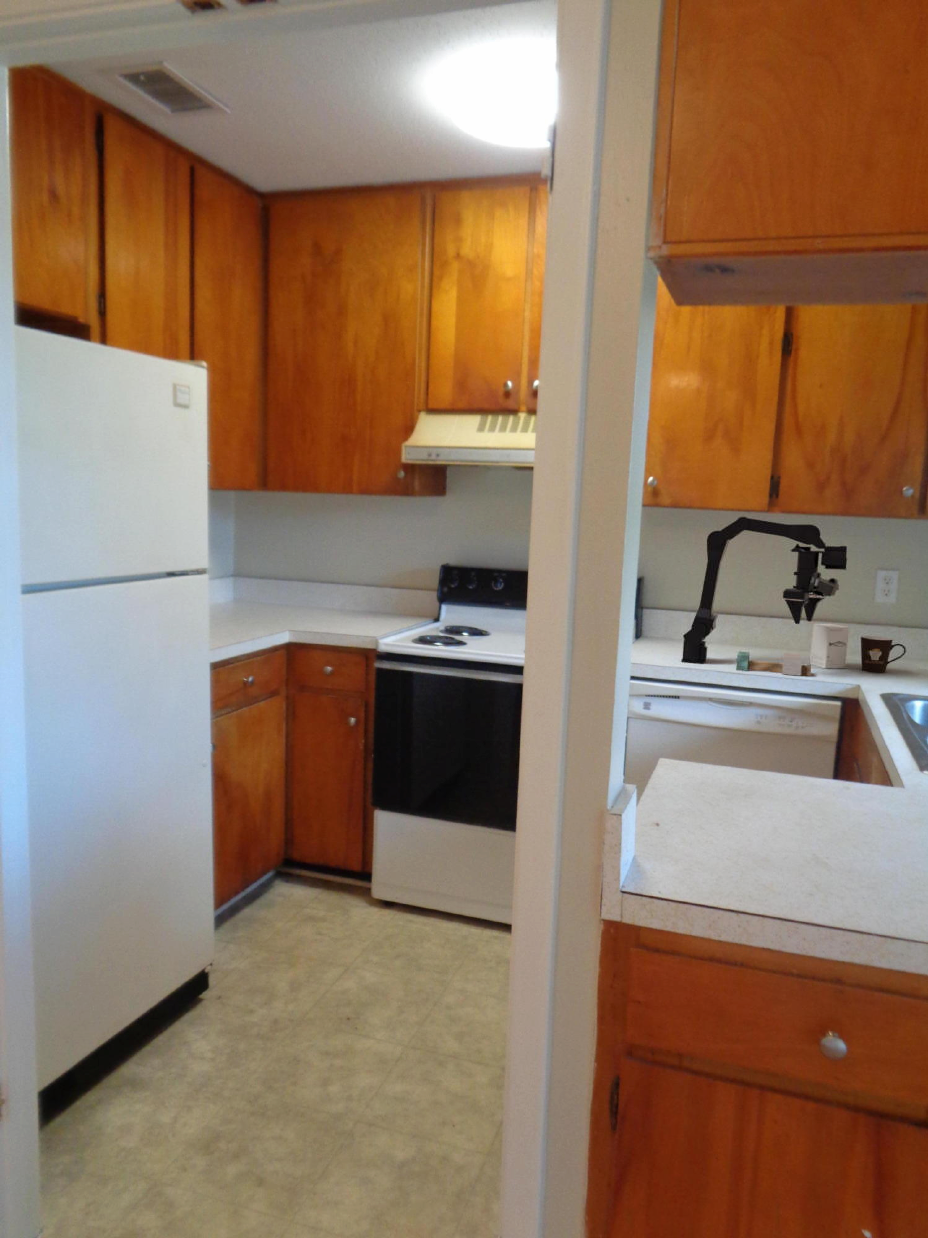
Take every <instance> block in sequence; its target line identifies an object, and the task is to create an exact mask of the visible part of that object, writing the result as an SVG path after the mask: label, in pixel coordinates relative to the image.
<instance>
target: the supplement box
mask: <svg viewBox="0 0 928 1238" xmlns="http://www.w3.org/2000/svg"><path fill="white" fill-rule="evenodd" d="M812 626H813V627H812V636H811V647H810V658H809V665H812V666H814V667H819V668H822V669H845V668H846V660H847V650H848V642H849V641H848V639H849V630H850V629H849V628H850V627H849V626H845V625H842V624H841V625H840V624H833V623H813V625H812Z"/></svg>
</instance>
